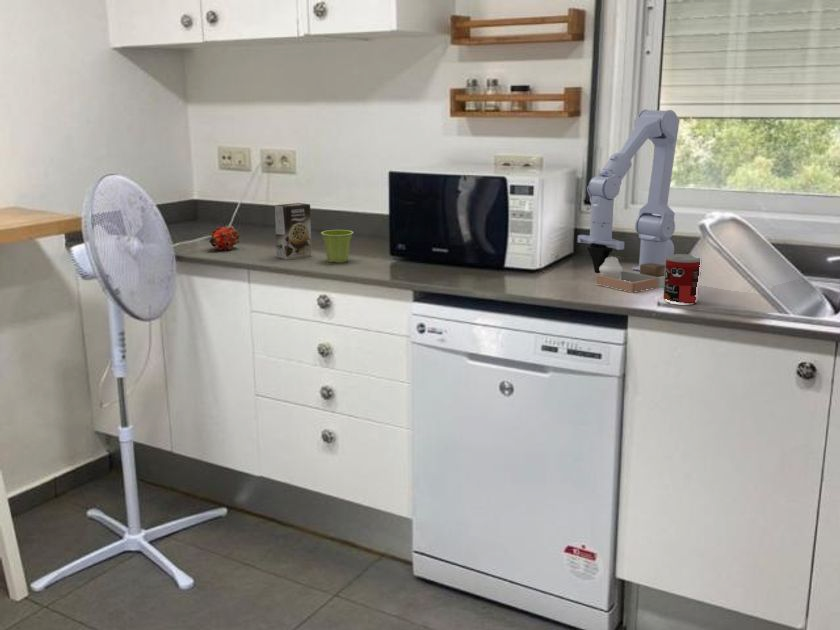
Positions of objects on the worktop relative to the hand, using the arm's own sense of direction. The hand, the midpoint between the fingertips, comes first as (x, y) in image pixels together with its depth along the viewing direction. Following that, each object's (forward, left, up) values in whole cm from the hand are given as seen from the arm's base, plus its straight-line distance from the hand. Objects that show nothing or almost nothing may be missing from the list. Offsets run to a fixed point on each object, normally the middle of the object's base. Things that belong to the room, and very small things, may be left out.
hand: (598, 272), depth 227 cm
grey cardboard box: (+49, -79, -2) cm, 93 cm away
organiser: (-5, +10, -2) cm, 11 cm away
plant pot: (+42, -65, -2) cm, 77 cm away
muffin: (0, +4, -2) cm, 5 cm away
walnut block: (-10, +10, -2) cm, 14 cm away
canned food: (+4, +29, -2) cm, 29 cm away
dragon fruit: (+61, -103, -2) cm, 120 cm away
